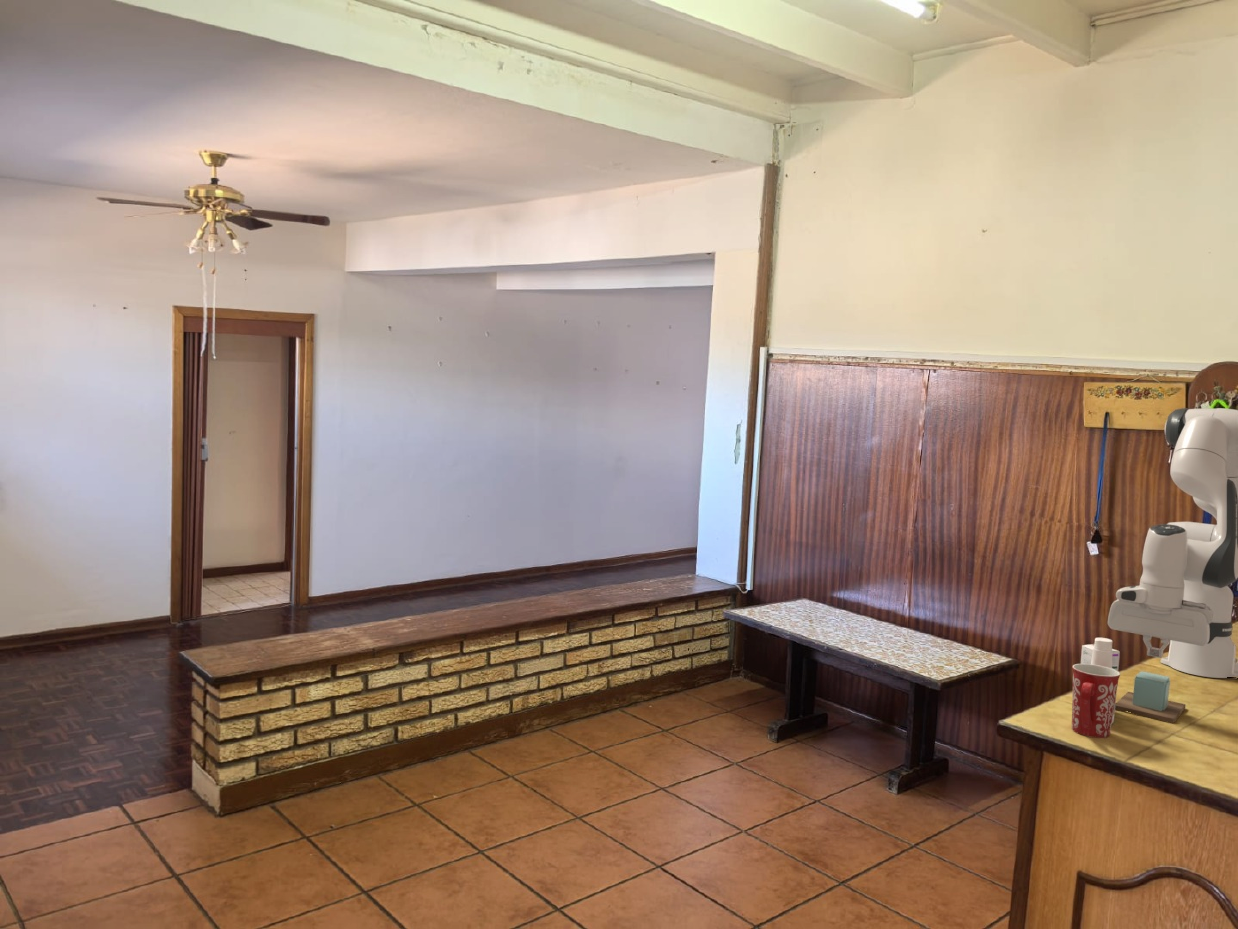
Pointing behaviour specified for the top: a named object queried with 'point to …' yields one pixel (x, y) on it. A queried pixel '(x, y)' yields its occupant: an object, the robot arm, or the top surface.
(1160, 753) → the top surface
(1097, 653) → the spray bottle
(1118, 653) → the syrup box
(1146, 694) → the pale teal box
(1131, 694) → the post board
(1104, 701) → the mug
